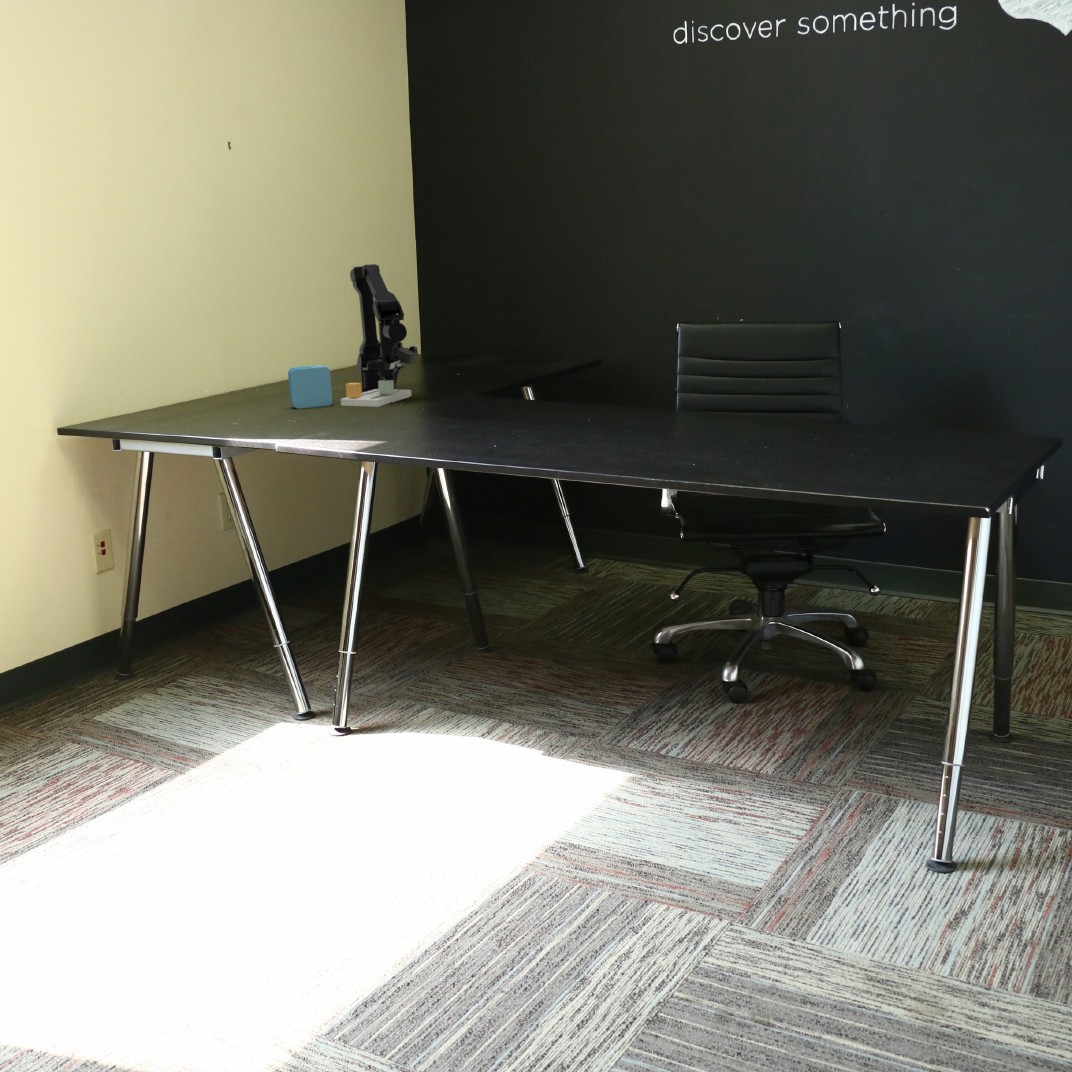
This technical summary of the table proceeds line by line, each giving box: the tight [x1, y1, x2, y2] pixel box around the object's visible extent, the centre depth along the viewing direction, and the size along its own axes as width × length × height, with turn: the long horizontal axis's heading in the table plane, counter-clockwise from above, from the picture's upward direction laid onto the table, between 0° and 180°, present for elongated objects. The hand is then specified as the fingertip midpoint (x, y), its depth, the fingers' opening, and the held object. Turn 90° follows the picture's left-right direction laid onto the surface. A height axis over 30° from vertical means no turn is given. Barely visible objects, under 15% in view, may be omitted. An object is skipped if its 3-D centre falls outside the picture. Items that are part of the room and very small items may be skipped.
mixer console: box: [340, 389, 412, 408], centre depth 362 cm, size 13×20×2 cm, turn 155°
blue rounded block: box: [287, 364, 334, 410], centre depth 356 cm, size 12×4×12 cm, turn 110°
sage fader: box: [378, 379, 394, 394], centre depth 360 cm, size 4×3×4 cm
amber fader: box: [345, 382, 363, 398], centre depth 357 cm, size 4×3×4 cm
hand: (392, 389), depth 364 cm, fingers closed
